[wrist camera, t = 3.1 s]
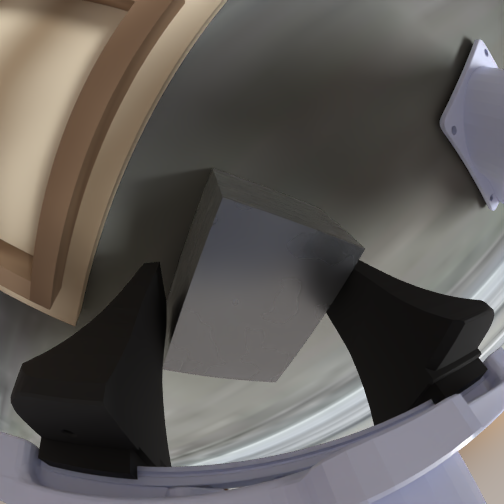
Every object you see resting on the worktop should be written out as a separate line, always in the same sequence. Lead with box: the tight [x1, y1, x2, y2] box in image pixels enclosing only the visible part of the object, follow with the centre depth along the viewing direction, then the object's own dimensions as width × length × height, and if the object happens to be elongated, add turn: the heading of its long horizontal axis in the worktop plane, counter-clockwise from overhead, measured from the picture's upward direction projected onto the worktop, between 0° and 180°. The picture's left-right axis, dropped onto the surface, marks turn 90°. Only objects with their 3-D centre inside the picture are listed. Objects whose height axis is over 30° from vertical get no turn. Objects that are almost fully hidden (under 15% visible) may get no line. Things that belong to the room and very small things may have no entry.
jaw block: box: [163, 168, 365, 382], centre depth 11 cm, size 5×7×4 cm
